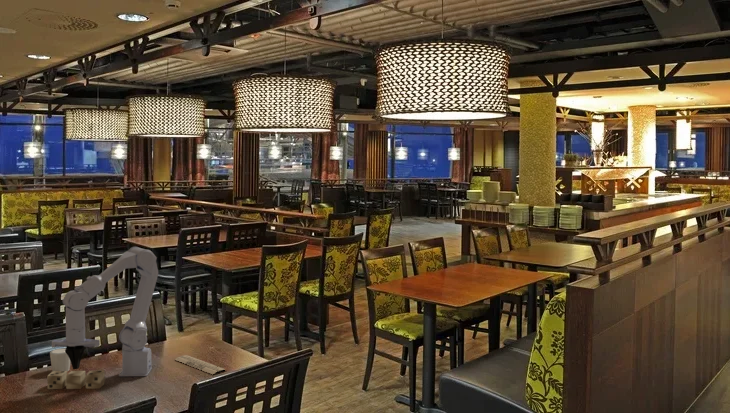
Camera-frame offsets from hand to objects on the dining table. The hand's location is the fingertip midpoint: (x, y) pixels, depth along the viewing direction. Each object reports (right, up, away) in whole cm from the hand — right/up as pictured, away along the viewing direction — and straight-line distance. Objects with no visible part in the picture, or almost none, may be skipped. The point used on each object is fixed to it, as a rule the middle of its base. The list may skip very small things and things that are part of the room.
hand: (76, 368), depth 204 cm
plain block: (0, -6, 0) cm, 6 cm away
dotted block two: (+6, -6, +1) cm, 9 cm away
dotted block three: (-6, -6, 0) cm, 9 cm away
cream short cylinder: (-12, -5, +15) cm, 20 cm away
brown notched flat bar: (+35, -6, +22) cm, 42 cm away
